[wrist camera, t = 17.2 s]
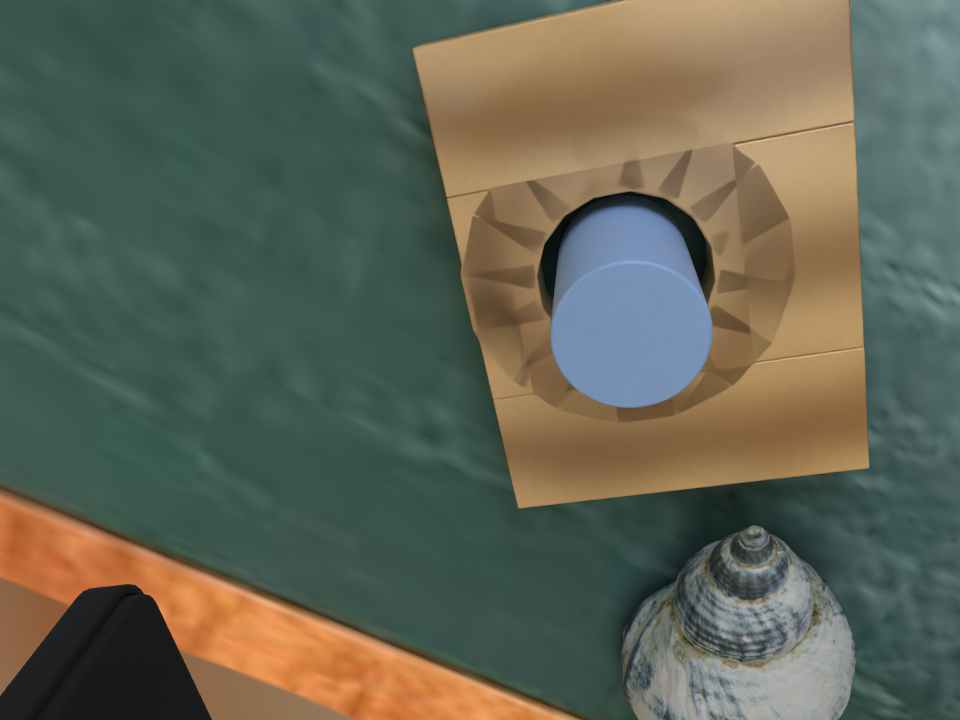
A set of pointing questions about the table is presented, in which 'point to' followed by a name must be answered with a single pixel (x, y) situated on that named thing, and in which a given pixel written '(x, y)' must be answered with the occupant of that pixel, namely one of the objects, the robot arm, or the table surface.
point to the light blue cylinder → (628, 305)
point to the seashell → (740, 639)
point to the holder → (692, 188)
